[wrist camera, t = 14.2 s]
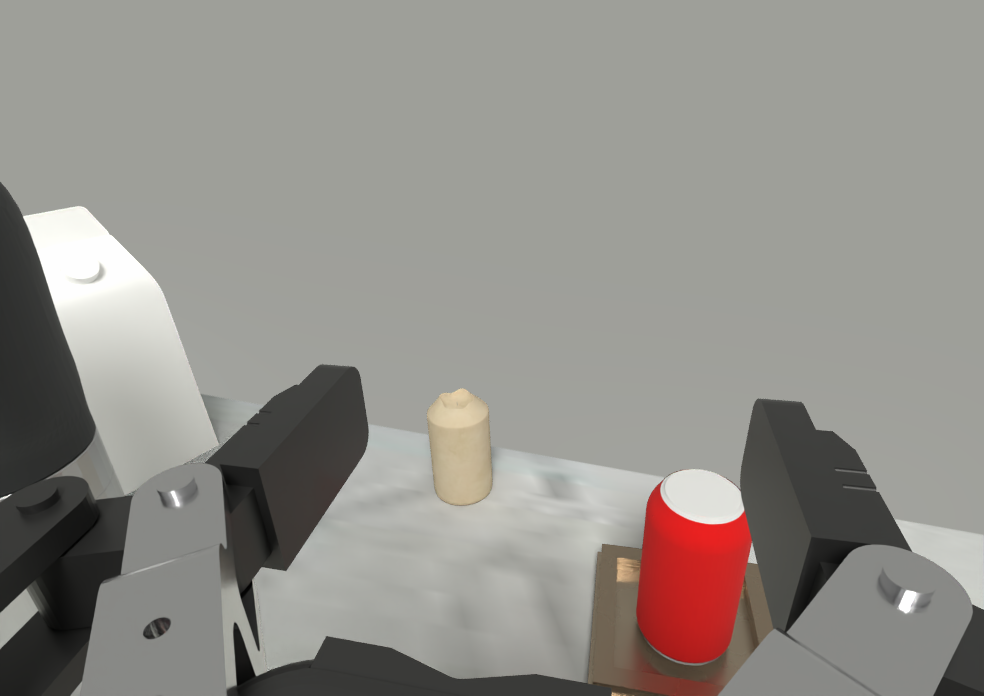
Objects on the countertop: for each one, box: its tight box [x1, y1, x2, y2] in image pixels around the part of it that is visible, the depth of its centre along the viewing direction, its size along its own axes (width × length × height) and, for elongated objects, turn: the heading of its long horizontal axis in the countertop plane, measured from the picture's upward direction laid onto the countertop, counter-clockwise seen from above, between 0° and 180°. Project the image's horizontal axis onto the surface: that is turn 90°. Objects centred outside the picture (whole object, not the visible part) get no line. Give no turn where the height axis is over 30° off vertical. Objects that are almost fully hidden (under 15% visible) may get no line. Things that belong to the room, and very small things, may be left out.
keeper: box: [588, 544, 774, 696], centre depth 39 cm, size 12×12×2 cm
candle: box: [427, 389, 492, 505], centre depth 53 cm, size 6×6×10 cm
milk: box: [23, 206, 219, 495], centre depth 56 cm, size 12×12×26 cm
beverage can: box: [636, 469, 752, 666], centre depth 37 cm, size 6×6×12 cm
